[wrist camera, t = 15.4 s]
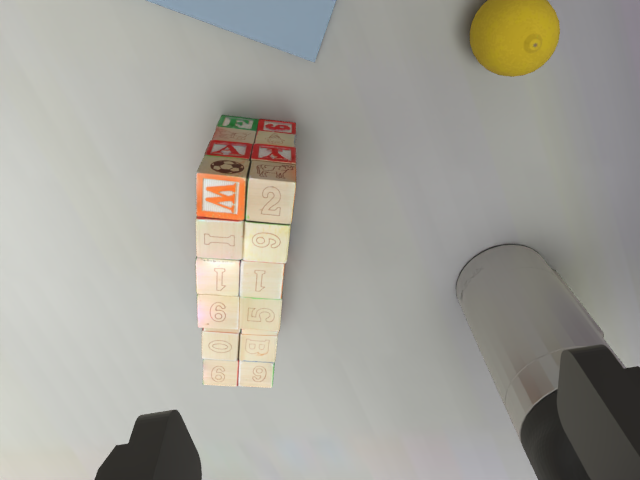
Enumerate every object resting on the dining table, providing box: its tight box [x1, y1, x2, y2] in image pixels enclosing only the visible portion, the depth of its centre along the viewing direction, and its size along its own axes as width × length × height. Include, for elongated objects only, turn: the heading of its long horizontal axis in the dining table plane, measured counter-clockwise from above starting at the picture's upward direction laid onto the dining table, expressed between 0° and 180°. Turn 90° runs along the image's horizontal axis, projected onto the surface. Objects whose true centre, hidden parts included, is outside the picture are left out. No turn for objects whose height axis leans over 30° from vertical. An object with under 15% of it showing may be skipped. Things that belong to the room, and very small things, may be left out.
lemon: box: [470, 0, 560, 76], centre depth 36 cm, size 6×6×8 cm
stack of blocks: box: [195, 115, 296, 388], centre depth 43 cm, size 21×6×12 cm, turn 173°
